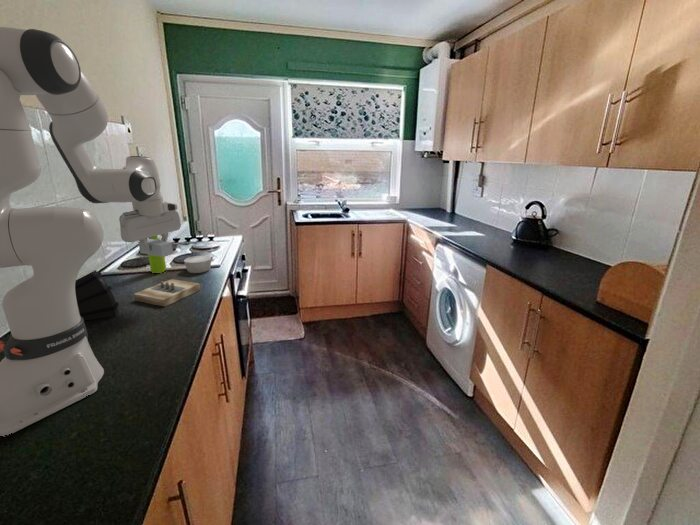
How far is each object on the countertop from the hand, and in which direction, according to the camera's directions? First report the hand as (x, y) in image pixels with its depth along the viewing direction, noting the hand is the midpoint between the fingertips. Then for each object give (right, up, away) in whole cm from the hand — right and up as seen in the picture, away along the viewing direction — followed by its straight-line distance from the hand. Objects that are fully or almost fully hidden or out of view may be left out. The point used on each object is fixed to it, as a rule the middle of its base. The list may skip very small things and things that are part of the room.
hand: (156, 248), depth 115 cm
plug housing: (0, -2, +1) cm, 2 cm away
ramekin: (-1, -8, +35) cm, 36 cm away
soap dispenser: (-17, -9, +33) cm, 38 cm away
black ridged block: (-14, -22, -9) cm, 28 cm away
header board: (0, -17, +8) cm, 19 cm away
